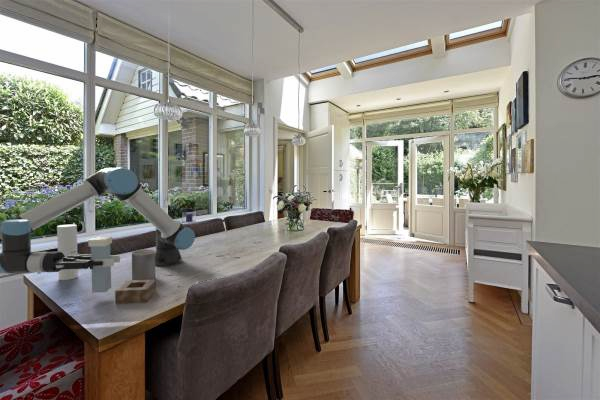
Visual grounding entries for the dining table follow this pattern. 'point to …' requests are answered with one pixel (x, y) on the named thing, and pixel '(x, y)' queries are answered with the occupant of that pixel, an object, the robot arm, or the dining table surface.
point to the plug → (100, 274)
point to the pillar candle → (143, 265)
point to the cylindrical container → (67, 248)
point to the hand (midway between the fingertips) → (116, 260)
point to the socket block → (135, 291)
